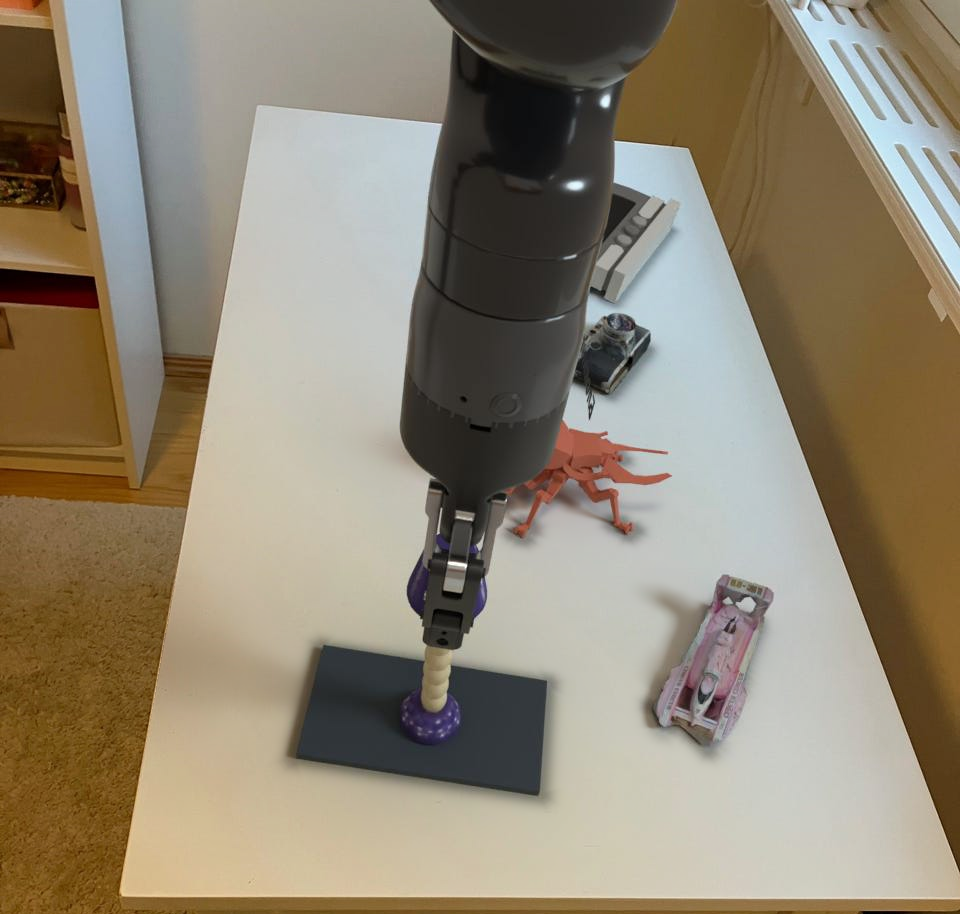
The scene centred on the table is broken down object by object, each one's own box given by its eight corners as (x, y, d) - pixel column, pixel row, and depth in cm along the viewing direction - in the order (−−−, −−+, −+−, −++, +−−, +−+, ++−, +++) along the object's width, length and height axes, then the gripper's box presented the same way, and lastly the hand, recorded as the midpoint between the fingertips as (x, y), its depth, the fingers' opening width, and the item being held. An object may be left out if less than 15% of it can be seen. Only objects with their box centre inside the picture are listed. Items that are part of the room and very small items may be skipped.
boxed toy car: (722, 757, 69) (743, 726, 66) (648, 723, 70) (666, 691, 67) (767, 628, 77) (788, 595, 74) (700, 599, 78) (718, 565, 75)
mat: (296, 758, 65) (296, 753, 64) (323, 649, 70) (323, 644, 70) (538, 796, 65) (539, 791, 65) (545, 685, 71) (547, 680, 70)
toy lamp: (382, 734, 66) (402, 568, 53) (401, 679, 69) (424, 509, 56) (452, 753, 66) (489, 592, 53) (468, 697, 69) (507, 531, 55)
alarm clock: (625, 274, 98) (481, 204, 100) (610, 313, 102) (472, 245, 104) (681, 203, 108) (549, 140, 110) (666, 240, 112) (539, 179, 114)
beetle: (483, 535, 79) (509, 411, 69) (481, 431, 86) (504, 305, 76) (666, 551, 81) (716, 432, 71) (648, 447, 88) (692, 327, 78)
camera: (557, 377, 92) (567, 339, 89) (605, 326, 98) (615, 289, 95) (605, 399, 91) (617, 362, 88) (651, 347, 97) (663, 310, 94)
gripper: (428, 257, 48) (402, 502, 62) (381, 454, 40) (363, 691, 53) (578, 284, 49) (520, 522, 62) (566, 486, 40) (501, 713, 53)
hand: (448, 599), depth 57 cm, fingers open, 5 cm apart
